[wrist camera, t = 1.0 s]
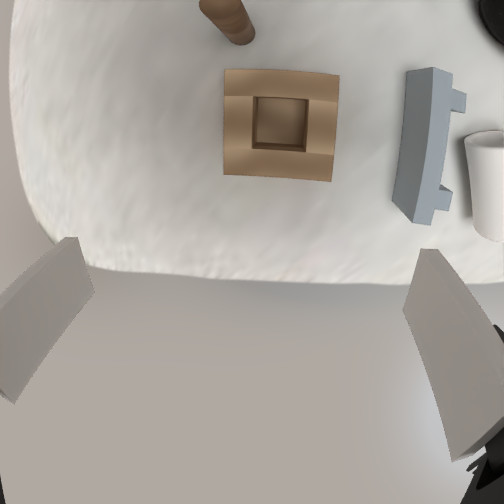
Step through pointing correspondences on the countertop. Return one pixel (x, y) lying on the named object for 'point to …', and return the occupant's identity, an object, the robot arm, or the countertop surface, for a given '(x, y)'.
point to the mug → (487, 182)
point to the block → (280, 123)
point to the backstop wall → (425, 143)
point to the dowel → (229, 19)
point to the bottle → (493, 17)
